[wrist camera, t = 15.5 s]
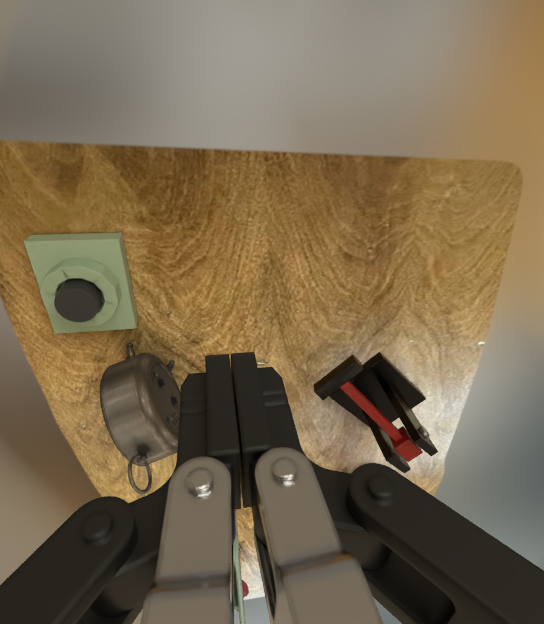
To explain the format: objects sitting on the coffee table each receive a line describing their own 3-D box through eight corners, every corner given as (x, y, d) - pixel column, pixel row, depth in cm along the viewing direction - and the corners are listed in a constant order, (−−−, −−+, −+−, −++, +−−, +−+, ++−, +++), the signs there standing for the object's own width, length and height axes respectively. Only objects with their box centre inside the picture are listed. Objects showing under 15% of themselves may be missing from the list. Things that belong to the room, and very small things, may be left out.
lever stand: (327, 391, 52) (354, 458, 43) (379, 352, 50) (419, 413, 41) (373, 426, 58) (406, 491, 49) (422, 392, 55) (465, 454, 46)
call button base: (30, 234, 34) (14, 249, 31) (121, 232, 36) (115, 246, 33) (59, 324, 40) (49, 344, 37) (138, 319, 41) (133, 338, 38)
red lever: (312, 382, 45) (314, 394, 42) (352, 352, 43) (356, 362, 41) (390, 456, 48) (395, 470, 46) (428, 430, 47) (436, 444, 45)
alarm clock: (110, 339, 42) (68, 467, 28) (155, 323, 41) (135, 443, 28) (157, 402, 48) (141, 532, 34) (196, 388, 48) (196, 512, 34)
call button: (55, 280, 34) (48, 289, 32) (97, 278, 34) (93, 287, 33) (65, 313, 36) (60, 323, 34) (105, 311, 36) (101, 321, 35)
